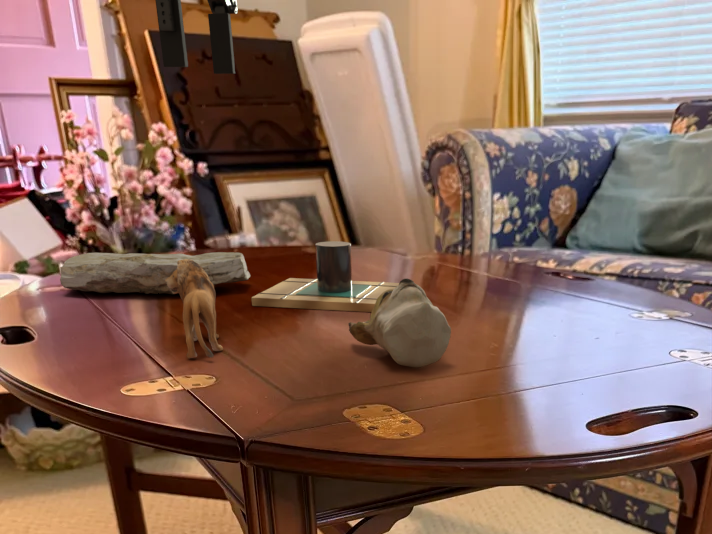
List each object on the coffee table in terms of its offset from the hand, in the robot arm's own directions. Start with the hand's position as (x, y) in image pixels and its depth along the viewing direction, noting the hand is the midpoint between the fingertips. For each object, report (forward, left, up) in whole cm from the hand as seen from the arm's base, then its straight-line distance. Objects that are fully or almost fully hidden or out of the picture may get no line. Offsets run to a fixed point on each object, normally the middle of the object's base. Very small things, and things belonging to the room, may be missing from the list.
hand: (201, 71), depth 94 cm
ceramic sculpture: (+30, -19, -29) cm, 46 cm away
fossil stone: (-16, +10, -29) cm, 34 cm away
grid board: (+13, +10, -29) cm, 33 cm away
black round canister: (+13, +10, -27) cm, 32 cm away
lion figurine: (+6, -20, -29) cm, 36 cm away
